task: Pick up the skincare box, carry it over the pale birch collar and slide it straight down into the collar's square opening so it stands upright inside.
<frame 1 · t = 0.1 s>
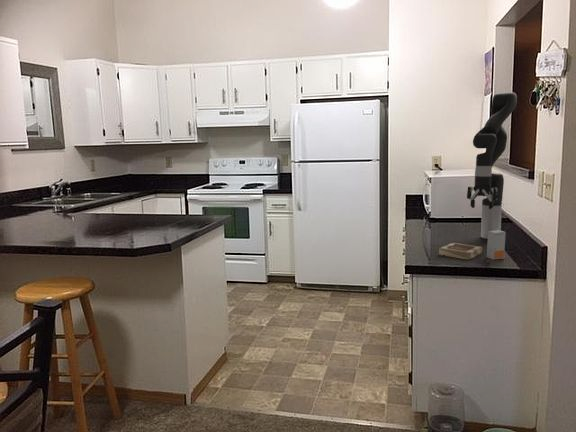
hand: (481, 208, 240), 17 cm above the countertop, tool pointing down, fingers open, 8 cm apart
skincare box: (495, 258, 214), on the countertop
birch stand: (460, 253, 223), on the countertop
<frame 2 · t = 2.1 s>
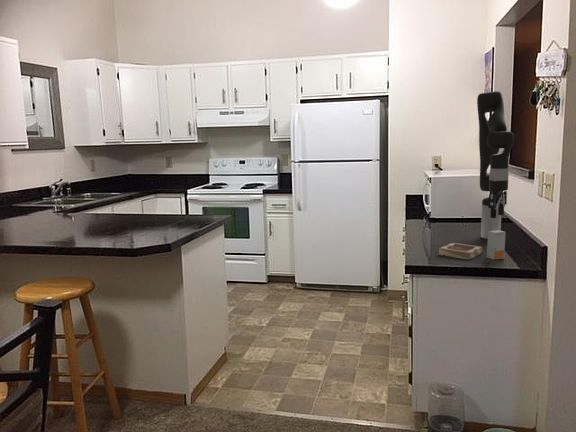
hand: (497, 216, 211), 18 cm above the countertop, tool pointing down, fingers open, 8 cm apart
nothing on the countertop moved.
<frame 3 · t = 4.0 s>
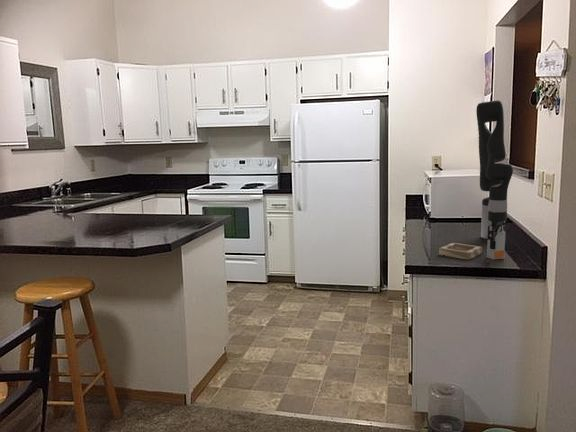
hand: (496, 247, 213), 5 cm above the countertop, tool pointing down, fingers closed on skincare box, 7 cm apart
skincare box: (495, 258, 214), on the countertop, touching gripper
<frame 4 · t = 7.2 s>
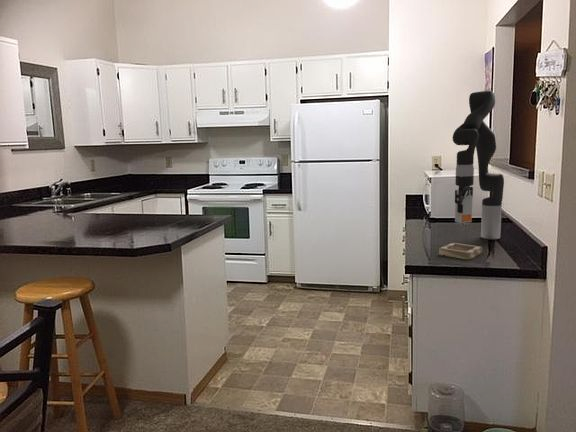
hand: (463, 211, 219), 20 cm above the countertop, tool pointing down, fingers closed on skincare box, 7 cm apart
skincare box: (463, 222, 220), point 15 cm above the countertop, touching gripper
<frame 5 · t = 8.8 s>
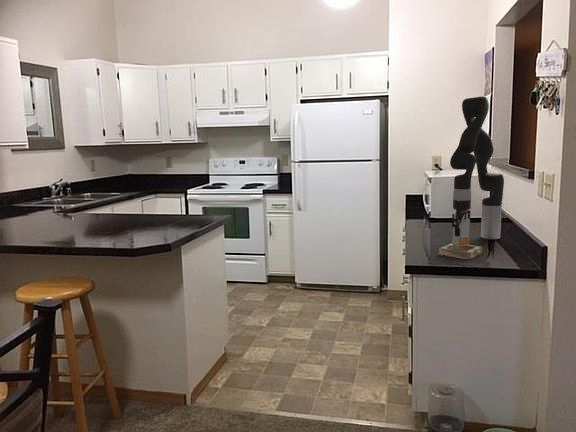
hand: (461, 234, 221), 9 cm above the countertop, tool pointing down, fingers closed on skincare box, 7 cm apart
skincare box: (460, 245, 222), point 4 cm above the countertop, touching gripper
when the fingers open (6 cm above the countertop, at t = 10.3 s): skincare box drops 1 cm, resting in birch stand.
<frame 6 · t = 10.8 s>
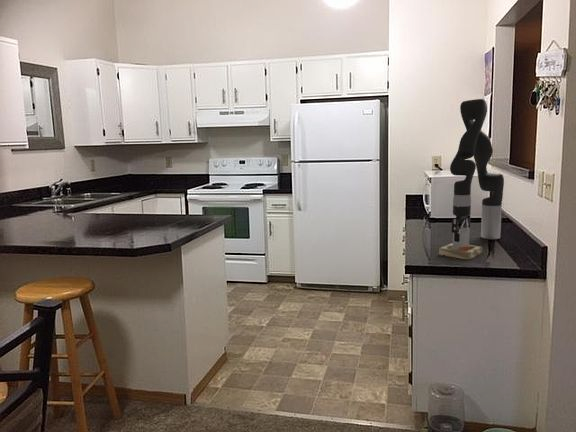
hand: (460, 239, 222), 7 cm above the countertop, tool pointing down, fingers open, 8 cm apart
skincare box: (460, 254, 223), resting in birch stand
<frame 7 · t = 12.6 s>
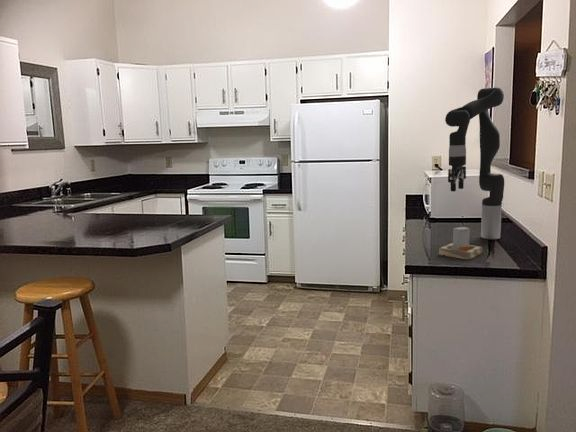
hand: (457, 190, 227), 28 cm above the countertop, tool pointing down, fingers open, 8 cm apart
nothing on the countertop moved.
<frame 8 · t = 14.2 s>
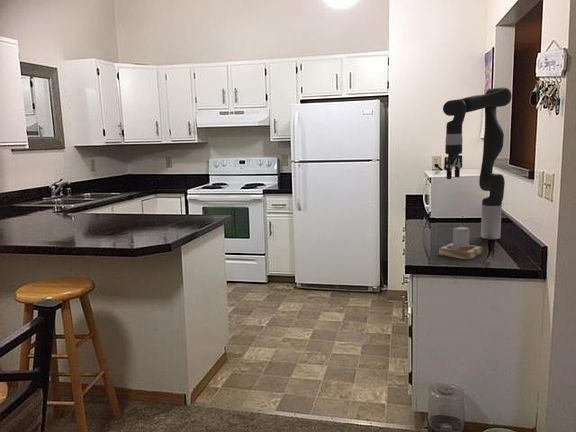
hand: (453, 178, 232), 33 cm above the countertop, tool pointing down, fingers open, 8 cm apart
nothing on the countertop moved.
at the end: skincare box 0.2 cm off-centre on the birch stand, point 0.0 cm above the birch stand's base; skincare box tilted 0°; the gripper is holding nothing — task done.
